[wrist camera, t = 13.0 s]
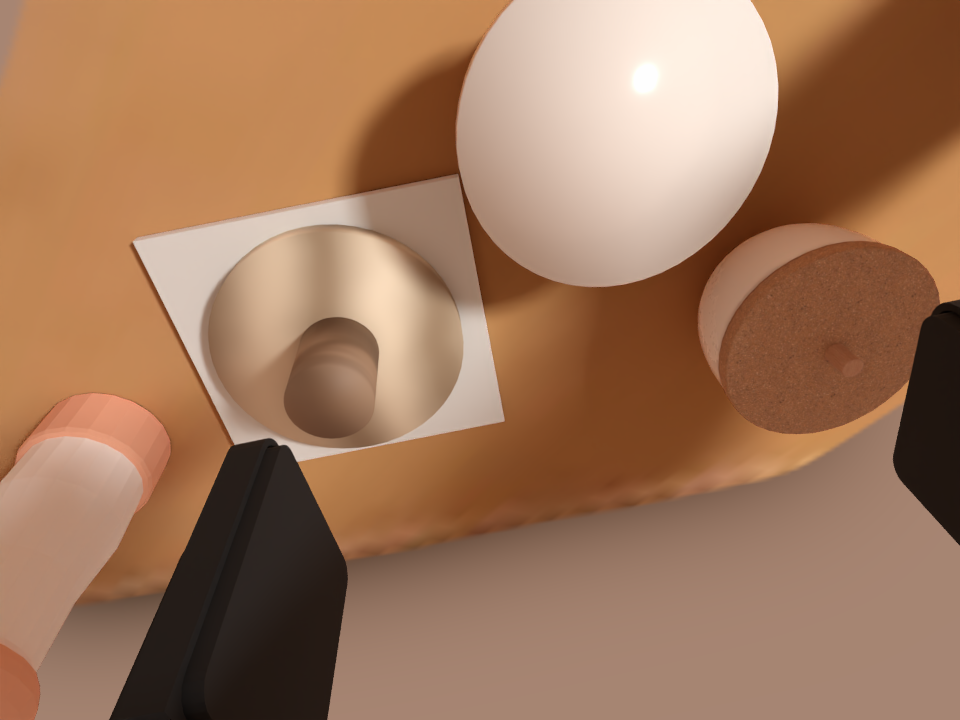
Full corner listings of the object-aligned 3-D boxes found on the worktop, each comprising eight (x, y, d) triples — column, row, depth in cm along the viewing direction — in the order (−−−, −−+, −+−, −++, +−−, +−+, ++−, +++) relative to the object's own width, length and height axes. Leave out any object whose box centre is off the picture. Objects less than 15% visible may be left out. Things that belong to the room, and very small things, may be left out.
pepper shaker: (100, 371, 36) (-158, 695, 20) (196, 448, 39) (45, 776, 23) (17, 432, 38) (-284, 777, 21) (117, 500, 41) (-77, 841, 25)
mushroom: (710, -75, 27) (794, -90, 21) (703, 208, 34) (765, 256, 28) (422, -17, 27) (424, -16, 21) (473, 254, 34) (485, 311, 28)
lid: (434, 200, 32) (439, 243, 27) (480, 412, 39) (491, 479, 34) (170, 253, 32) (123, 307, 27) (266, 455, 39) (244, 528, 34)
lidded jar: (665, 371, 40) (728, 468, 32) (677, 209, 34) (758, 279, 26) (827, 349, 40) (930, 440, 32) (866, 185, 34) (1002, 247, 26)
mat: (457, 173, 32) (458, 176, 31) (503, 415, 40) (504, 421, 40) (137, 237, 32) (132, 241, 31) (249, 465, 40) (248, 471, 40)
